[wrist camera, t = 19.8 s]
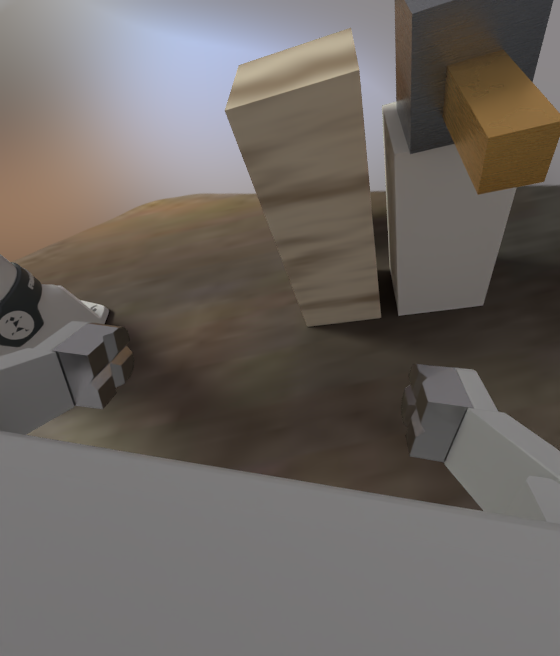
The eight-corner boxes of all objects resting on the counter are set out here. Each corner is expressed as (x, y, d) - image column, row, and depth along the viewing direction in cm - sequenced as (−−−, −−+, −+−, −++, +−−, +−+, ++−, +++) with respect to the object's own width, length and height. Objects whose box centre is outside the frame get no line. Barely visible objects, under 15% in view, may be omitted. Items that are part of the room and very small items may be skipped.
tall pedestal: (381, 317, 42) (359, 69, 22) (307, 326, 44) (224, 110, 24) (374, 269, 46) (350, 27, 26) (307, 279, 49) (238, 65, 28)
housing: (575, 206, 18) (662, 16, 12) (434, 231, 20) (447, 77, 14) (489, 84, 27) (514, -62, 21) (396, 109, 29) (394, -19, 23)
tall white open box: (482, 305, 39) (535, 121, 23) (398, 315, 41) (394, 154, 26) (464, 255, 43) (498, 73, 28) (389, 267, 46) (382, 105, 30)
